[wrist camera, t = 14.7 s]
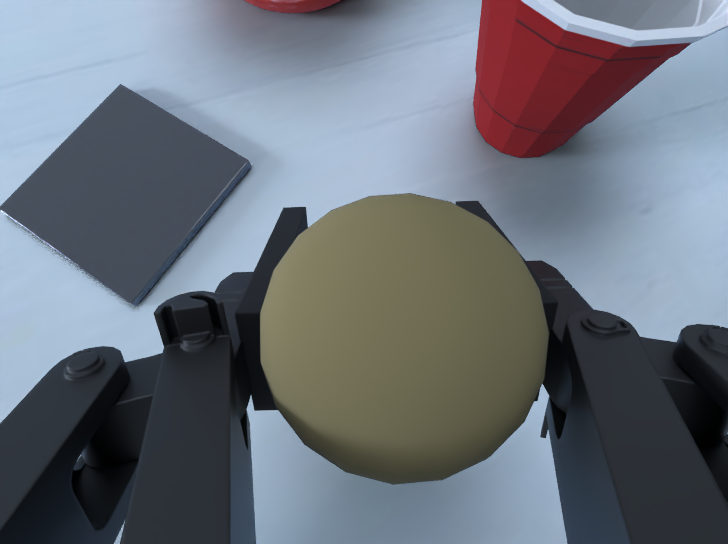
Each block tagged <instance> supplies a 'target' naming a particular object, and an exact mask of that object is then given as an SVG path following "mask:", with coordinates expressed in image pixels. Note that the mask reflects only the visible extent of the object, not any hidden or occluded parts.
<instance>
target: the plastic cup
mask: <svg viewBox="0 0 728 544" xmlns="http://www.w3.org/2000/svg"><path fill="white" fill-rule="evenodd" d="M726 27H728V0H482V8H481V18H480V28H479V38H478V49H477V59H476V69H475V70H476V76H477V77H476V85H475V94H474V102H473V105H474V114H475V120H476V127H477V129H478V130H479V132H480V133H481V135H482V136H483V138H484V139H485V141H486V142H487V143H489V144H490V145H491V146H493V147H494V148H496V149H497V150H498V151H500V152H501V153H505V154H508V155H512V156H515V157H519V158H526V157H539V156H542V155H544V154H546V153H548V152H550V151H553V150H555V149H556V148H558V147H560V146H562V145H563V144H564V143H566V142H567V141H568V140H569V139H570V138H571V137H572V136H574V135H575V134H576V133H577V132H578V131H579V130H580V129H582V128H583V127H584V126H585V125H586V124H588V123H590V122H592V121H594V120H595V119H596V118H597V117H599V116H600V115H601V114H602V113H603V112H605V111H606V110H607V109H608V108H609V107H611V106H612V105H613V104H614V103H615V102H617V101H618V100H619V99H620V98H622V97H623V96H624V95H625V94H626V93H628V92H629V91H630V90H631V89H632V88H634V87H635V86H636V85H637V84H638V83H640V82H641V81H642V80H643V79H644V78H646V77H647V76H648V75H649V74H651V73H652V72H653V71H654V70H655V69H657V68H658V67H659V66H660V65H661V64H663V63H664V62H665V61H666V60H667V59H669V58H670V57H673V56H675V55H677V54H678V53H680V52H681V51H682V50H684V49H685V48H686V47H687V46H689V45H690V44H691V43H694V42H696V41H698V40H700V39H702V38H705V37H707V36H709V35H711V34H713V33H715V32H718V31H720V30H722V29H724V28H726Z"/></svg>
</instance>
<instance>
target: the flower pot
mask: <svg viewBox="0 0 728 544" xmlns="http://www.w3.org/2000/svg"><path fill="white" fill-rule="evenodd" d="M245 1H246V2H248V3H250V4H252V5H254V6H257V7H259V8H262V9H265V10H270V11H275V12H281V13H305V12H311V11H315V10H319V9H322V8H325V7H328V6H330V5H333V4H335V3H337V2H339V1H341V0H245Z"/></svg>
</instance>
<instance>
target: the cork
mask: <svg viewBox="0 0 728 544" xmlns="http://www.w3.org/2000/svg"><path fill="white" fill-rule="evenodd" d="M548 338H549V331H548V326H547V322H546V317H545V312H544V308H543V303H542V298H541V294H540V290H539V288H538V286H537V284H536V282H535V281H534V279H533V277H532V275H531V273H530V272H529V270H528V268H527V266H526V265H525V263H524V261H523V259H522V257H521V256H520V254H519V252H518V251H517V250H516V249H515V248H514V247H513V246H512V245H511V244H510V243H509V242H508V241H507V240H506V239H505V238H504V237H503V236H502V235H501V234H500V233H499V232H498V231H497V230H496V229H494V228H493V227H492V226H491V225H490V224H489V223H488V222H487V221H485V220H483V219H481V218H480V217H478V216H476V215H474V214H472V213H470V212H468V211H466V210H465V209H463V208H461V207H459V206H457V205H455V204H453V203H451V202H448V201H443V200H439V199H434V198H430V197H425V196H420V195H416V194H411V193H408V194H394V195H379V196H369V197H366V198H363V199H361V200H358V201H355V202H352V203H350V204H347V205H344V206H342V207H339V208H336V209H334V210H331V211H330V212H328V213H327V214H326V215H325V216H323V217H322V218H321V219H319V220H318V221H317V222H315V223H314V224H313V225H311V226H310V227H309V228H307V229H306V230H305V231H304V232H302V233H301V234H300V235H298V237H297V238H296V239H295V241H294V242H293V244H292V245H291V246H290V248H289V249H288V251H287V252H286V254H285V255H284V256H283V258H282V259H281V261H280V262H279V263H278V265H277V266H276V268H275V269H274V271H273V274H272V277H271V280H270V284H269V287H268V290H267V293H266V296H265V299H264V303H263V306H262V309H261V313H260V355H261V365H262V368H263V371H264V374H265V377H266V380H267V383H268V386H269V389H270V392H271V394H272V397H273V400H274V403H275V406H276V408H277V409H278V410H279V412H280V413H281V414H282V416H283V417H284V418H285V419H286V421H287V422H288V423H289V425H290V426H291V427H292V429H293V430H294V431H295V433H296V434H297V435H298V437H299V438H300V439H301V440H302V442H303V443H304V444H305V445H306V446H307V447H309V448H310V449H312V450H313V451H315V452H316V453H318V454H319V455H321V456H322V457H324V458H325V459H327V460H328V461H330V462H331V463H333V464H334V465H336V466H337V467H339V468H340V469H342V470H343V471H345V472H347V473H351V474H355V475H359V476H363V477H367V478H370V479H374V480H378V481H382V482H386V483H390V484H404V483H415V482H426V481H436V480H443V479H445V478H448V477H450V476H452V475H454V474H456V473H458V472H460V471H462V470H464V469H467V468H469V467H471V466H473V465H475V464H477V463H479V462H481V461H483V460H486V459H487V458H488V457H490V456H491V455H492V454H493V453H494V452H495V451H496V450H497V449H498V448H499V447H500V446H501V445H502V444H503V443H504V442H505V441H506V440H507V439H508V438H509V437H510V436H511V435H512V434H513V433H514V432H515V431H516V430H517V429H518V428H519V427H520V426H521V425H522V424H523V423H524V422H525V419H526V417H527V415H528V413H529V411H530V409H531V407H532V404H533V402H534V400H535V398H536V396H537V394H538V391H539V389H540V387H541V385H542V383H543V381H544V377H545V367H546V358H547V348H548Z"/></svg>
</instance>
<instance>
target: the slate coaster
mask: <svg viewBox="0 0 728 544" xmlns="http://www.w3.org/2000/svg"><path fill="white" fill-rule="evenodd" d="M250 167H251V164H250V162H249V161H248V160H247V159H245V158H243V157H242V156H240V155H238V154H237V153H235V152H233V151H232V150H230V149H228V148H227V147H225V146H223V145H222V144H220V143H218V142H217V141H215V140H213V139H212V138H210V137H208V136H207V135H205V134H203V133H202V132H200V131H198V130H197V129H195V128H193V127H192V126H190V125H188V124H187V123H185V122H183V121H182V120H180V119H178V118H177V117H175V116H173V115H172V114H170V113H168V112H167V111H165V110H163V109H162V108H160V107H158V106H157V105H155V104H153V103H152V102H150V101H148V100H147V99H145V98H143V97H142V96H140V95H138V94H137V93H135V92H133V91H132V90H130V89H128V88H127V87H125V86H123V85H122V84H120V85H119V86H118V87H117V88H116V89H115V90H114V91H113V92H112V93H111V94H110V95H109V96H108V97H107V98H106V99H105V100H104V101H103V102H102V103H101V104H100V105H99V106H98V107H97V108H96V109H95V110H94V111H93V112H92V113H91V114H90V115H89V117H88V118H87V119H86V120H85V121H84V122H83V123H82V124H81V125H80V126H79V127H78V128H77V129H76V130H75V131H74V132H73V133H72V134H71V135H70V136H69V137H68V138H67V139H66V140H65V141H64V142H63V143H62V144H61V145H60V146H59V147H58V148H57V149H56V150H55V151H54V152H53V153H52V154H51V155H50V156H49V157H48V158H47V159H46V160H45V161H44V162H43V163H42V164H41V165H40V166H39V167H38V168H37V169H36V170H35V172H34V173H33V174H32V175H31V176H30V177H29V178H28V179H27V180H26V181H25V182H24V183H23V184H22V185H21V186H20V187H19V188H18V189H17V190H16V191H15V192H14V193H13V194H12V195H11V196H10V197H9V198H8V199H7V200H6V201H5V202H4V203H3V204H2V205H1V206H0V211H2V212H3V213H5V214H6V215H7V216H9V217H10V218H12V219H13V220H14V221H16V222H17V223H19V224H20V225H21V226H23V227H24V228H25V229H27V230H28V231H30V232H31V233H32V234H34V235H35V236H37V237H38V238H39V239H41V240H42V241H44V242H45V243H46V244H48V245H49V246H51V247H52V248H53V249H55V250H56V251H58V252H59V253H60V254H62V255H63V256H65V257H66V258H67V259H69V260H70V261H72V262H73V263H74V264H76V265H77V266H79V267H80V268H81V269H83V270H84V271H85V272H87V273H88V274H90V275H91V276H92V277H94V278H95V279H97V280H98V281H99V282H101V283H102V284H104V285H105V286H106V287H108V288H109V289H111V290H112V291H113V292H115V293H116V294H118V295H119V296H120V297H122V298H123V299H125V300H126V301H127V302H129V303H130V304H132V305H135V306H137V305H138V304H139V303H140V301H141V300H142V299H143V298H144V297H145V295H146V294H147V293H148V292H149V290H150V289H151V288H152V287H153V286H154V284H155V283H156V282H157V281H158V279H159V278H160V277H161V276H162V275H163V273H164V272H165V271H166V270H167V268H168V267H169V266H170V265H171V264H172V262H173V261H174V260H175V259H176V258H177V256H178V255H179V254H180V253H181V251H182V250H183V249H184V248H185V247H186V245H187V244H188V243H189V242H190V240H191V239H192V238H193V237H194V236H195V234H196V233H197V232H198V231H199V230H200V228H201V227H202V226H203V225H204V223H205V222H206V221H207V220H208V219H209V217H210V216H211V215H212V214H213V212H214V211H215V210H216V209H217V208H218V206H219V205H220V204H221V203H222V202H223V200H224V199H225V198H226V197H227V195H228V194H229V193H230V192H231V191H232V189H233V188H234V187H235V186H236V184H237V183H238V182H239V181H240V180H241V178H242V177H243V176H244V175H245V174H246V172H247V171H248V170H249V169H250Z"/></svg>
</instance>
